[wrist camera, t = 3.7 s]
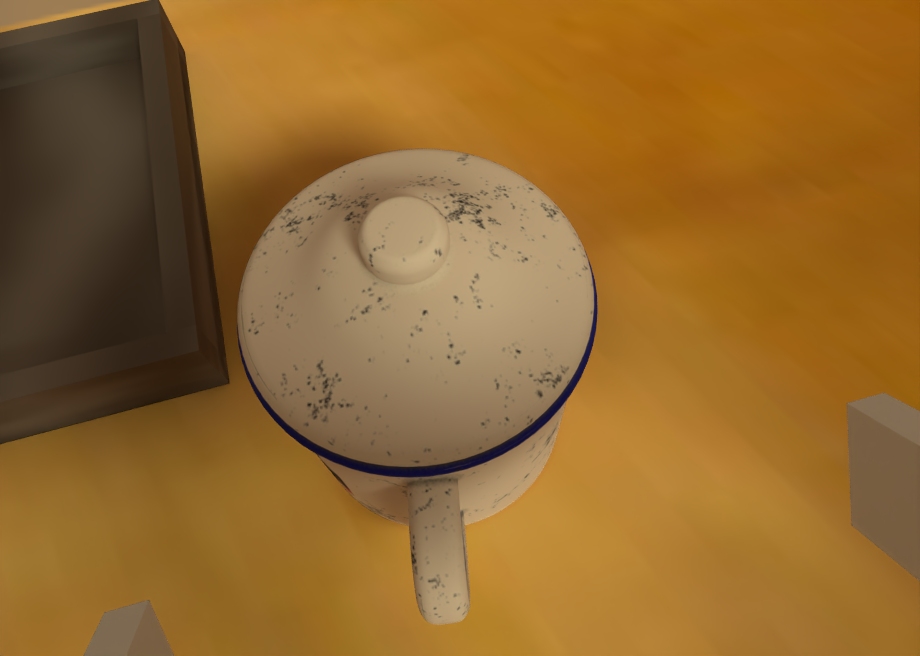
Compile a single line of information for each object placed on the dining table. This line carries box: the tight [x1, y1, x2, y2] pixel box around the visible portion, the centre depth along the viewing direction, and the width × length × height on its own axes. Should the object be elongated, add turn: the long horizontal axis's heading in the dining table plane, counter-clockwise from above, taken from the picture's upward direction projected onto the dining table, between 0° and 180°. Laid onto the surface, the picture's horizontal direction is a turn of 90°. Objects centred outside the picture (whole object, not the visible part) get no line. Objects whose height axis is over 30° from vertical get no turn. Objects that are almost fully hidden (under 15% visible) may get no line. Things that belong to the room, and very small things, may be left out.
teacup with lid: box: [237, 149, 597, 624], centre depth 19 cm, size 12×9×12 cm
